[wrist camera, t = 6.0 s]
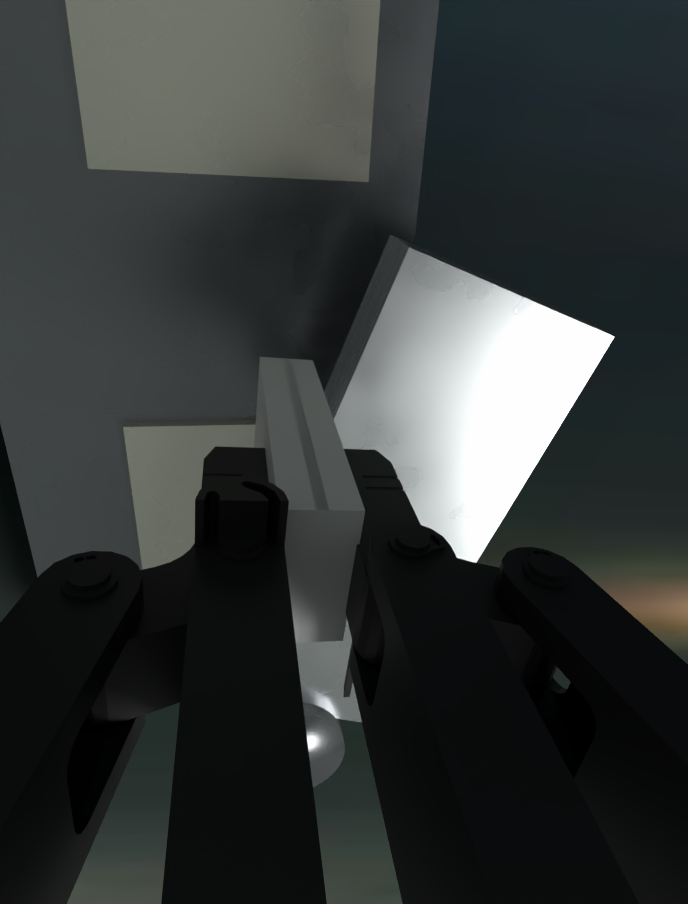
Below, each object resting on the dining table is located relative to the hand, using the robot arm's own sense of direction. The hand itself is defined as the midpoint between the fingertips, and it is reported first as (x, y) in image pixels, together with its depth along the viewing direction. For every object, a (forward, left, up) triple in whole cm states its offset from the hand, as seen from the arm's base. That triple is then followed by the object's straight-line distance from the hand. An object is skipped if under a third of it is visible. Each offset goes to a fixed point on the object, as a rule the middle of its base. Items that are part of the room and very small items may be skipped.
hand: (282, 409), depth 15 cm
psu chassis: (+2, -1, -6) cm, 7 cm away
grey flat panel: (-2, +5, -1) cm, 6 cm away
